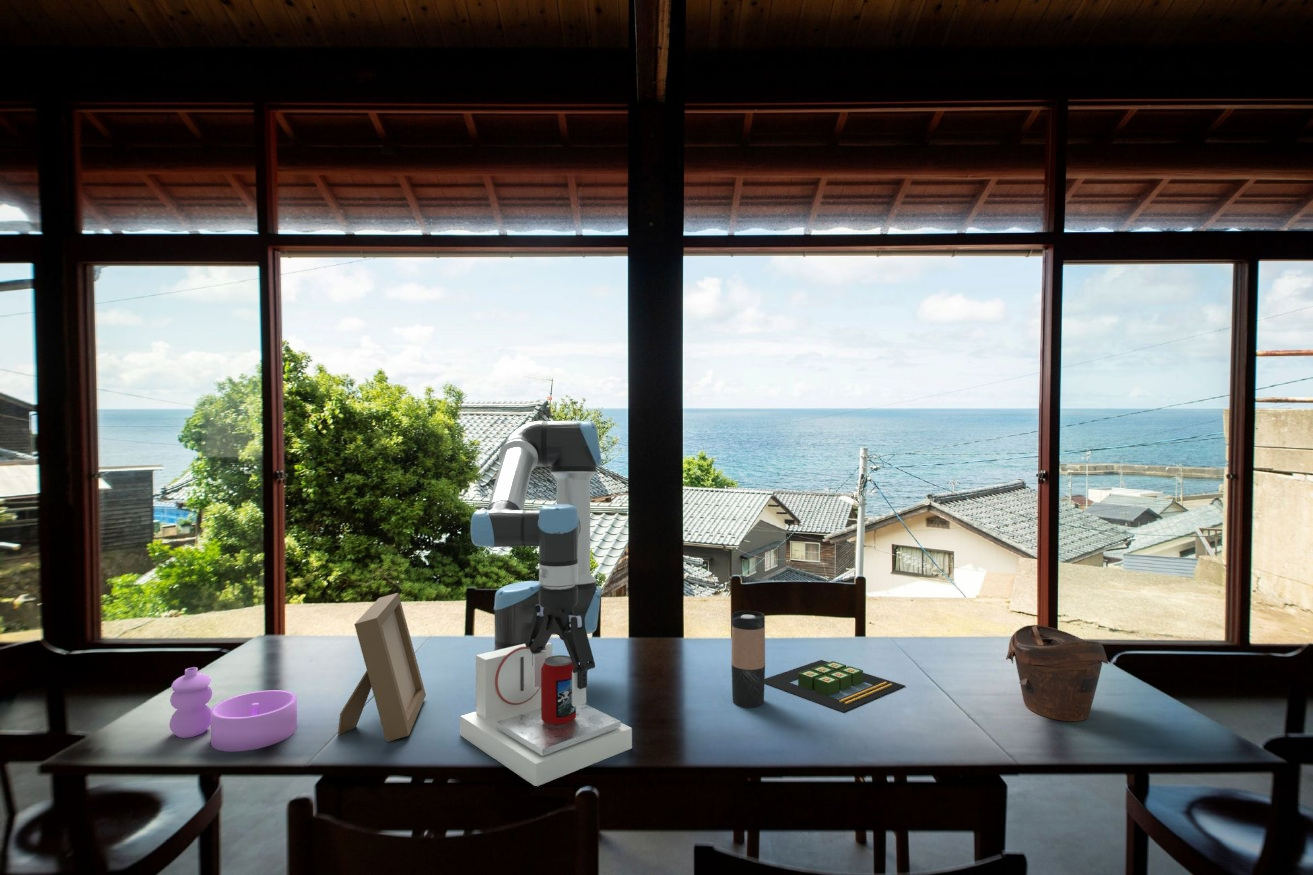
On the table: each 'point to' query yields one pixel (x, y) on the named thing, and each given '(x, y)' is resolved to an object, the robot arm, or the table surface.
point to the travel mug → (748, 658)
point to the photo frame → (386, 671)
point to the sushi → (832, 684)
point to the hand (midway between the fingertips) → (558, 694)
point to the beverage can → (557, 691)
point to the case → (1056, 671)
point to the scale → (511, 694)
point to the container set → (232, 714)
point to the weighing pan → (557, 729)
